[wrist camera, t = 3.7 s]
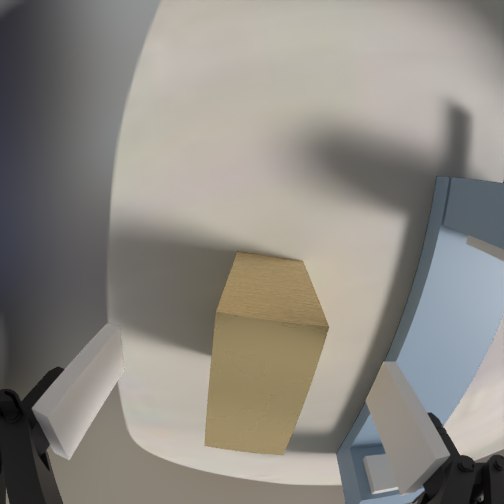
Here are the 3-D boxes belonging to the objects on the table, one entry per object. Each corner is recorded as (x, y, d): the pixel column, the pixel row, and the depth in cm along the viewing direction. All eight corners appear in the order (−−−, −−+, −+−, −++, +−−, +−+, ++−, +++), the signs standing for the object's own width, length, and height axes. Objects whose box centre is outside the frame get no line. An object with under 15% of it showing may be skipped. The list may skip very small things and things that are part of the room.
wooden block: (237, 251, 18) (215, 311, 10) (303, 260, 18) (329, 327, 10) (223, 358, 20) (204, 445, 12) (279, 366, 20) (283, 455, 12)
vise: (436, 176, 16) (515, 185, 8) (519, 209, 15) (583, 229, 8) (336, 453, 22) (347, 513, 15) (416, 445, 22) (437, 494, 15)
